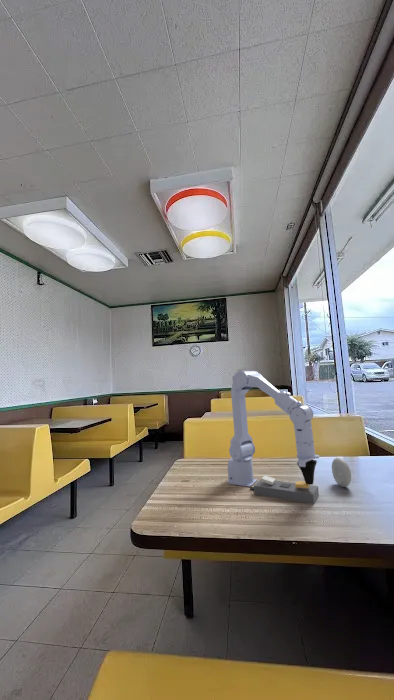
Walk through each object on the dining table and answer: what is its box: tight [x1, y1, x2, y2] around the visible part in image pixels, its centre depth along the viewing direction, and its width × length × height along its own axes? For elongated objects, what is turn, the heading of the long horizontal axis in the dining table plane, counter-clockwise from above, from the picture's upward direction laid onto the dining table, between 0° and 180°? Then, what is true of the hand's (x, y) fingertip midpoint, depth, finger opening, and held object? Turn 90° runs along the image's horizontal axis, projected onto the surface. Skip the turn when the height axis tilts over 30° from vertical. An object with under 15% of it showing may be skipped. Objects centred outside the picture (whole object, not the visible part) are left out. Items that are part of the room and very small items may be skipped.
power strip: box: [249, 479, 320, 505], centre depth 105 cm, size 23×8×3 cm, turn 58°
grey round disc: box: [331, 457, 352, 488], centre depth 109 cm, size 10×4×10 cm, turn 2°
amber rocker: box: [295, 480, 311, 488], centre depth 101 cm, size 4×4×1 cm
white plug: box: [260, 475, 277, 485], centre depth 107 cm, size 4×4×1 cm
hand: (309, 483), depth 100 cm, fingers closed, pressing on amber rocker
